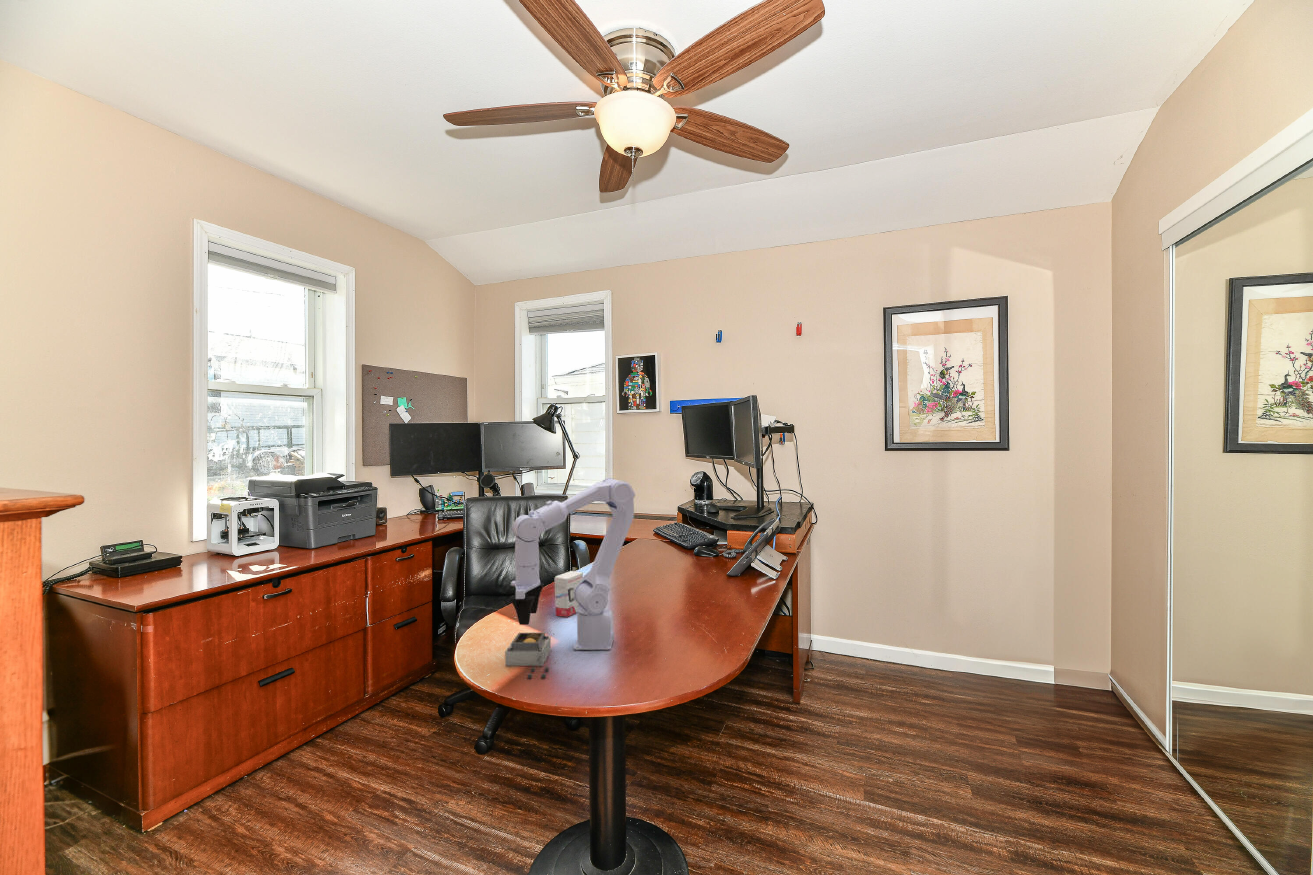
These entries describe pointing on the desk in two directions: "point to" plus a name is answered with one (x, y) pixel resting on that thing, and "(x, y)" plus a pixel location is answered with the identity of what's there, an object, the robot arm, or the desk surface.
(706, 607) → the desk surface
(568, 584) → the ink box
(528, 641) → the ball
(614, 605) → the desk surface
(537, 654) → the silver open square box
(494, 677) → the desk surface
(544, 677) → the cradle
